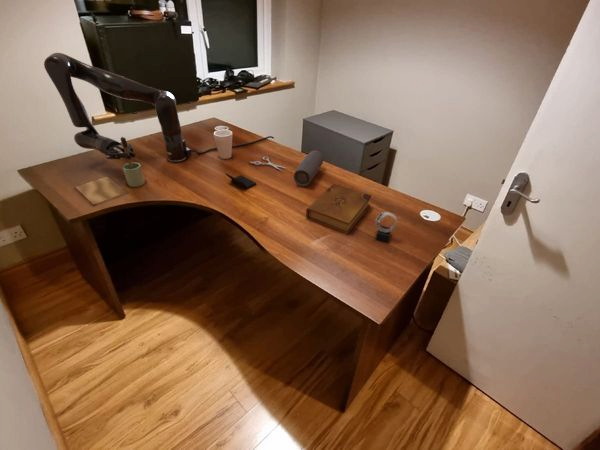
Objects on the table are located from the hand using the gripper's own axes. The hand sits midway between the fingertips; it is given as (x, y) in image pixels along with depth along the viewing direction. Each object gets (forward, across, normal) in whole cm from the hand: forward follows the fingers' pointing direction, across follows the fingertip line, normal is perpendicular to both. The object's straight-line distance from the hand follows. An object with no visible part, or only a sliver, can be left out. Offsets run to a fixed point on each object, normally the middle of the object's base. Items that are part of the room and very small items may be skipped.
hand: (132, 156), depth 143 cm
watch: (+107, +28, +15) cm, 111 cm away
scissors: (+37, +51, +14) cm, 64 cm away
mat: (-10, -13, +14) cm, 22 cm away
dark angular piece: (+36, +28, +15) cm, 48 cm away
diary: (+85, +33, +15) cm, 93 cm away
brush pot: (-3, 0, +14) cm, 15 cm away
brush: (-3, 0, +14) cm, 14 cm away
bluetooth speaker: (+59, +52, +15) cm, 80 cm away
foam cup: (+10, +45, +15) cm, 49 cm away
